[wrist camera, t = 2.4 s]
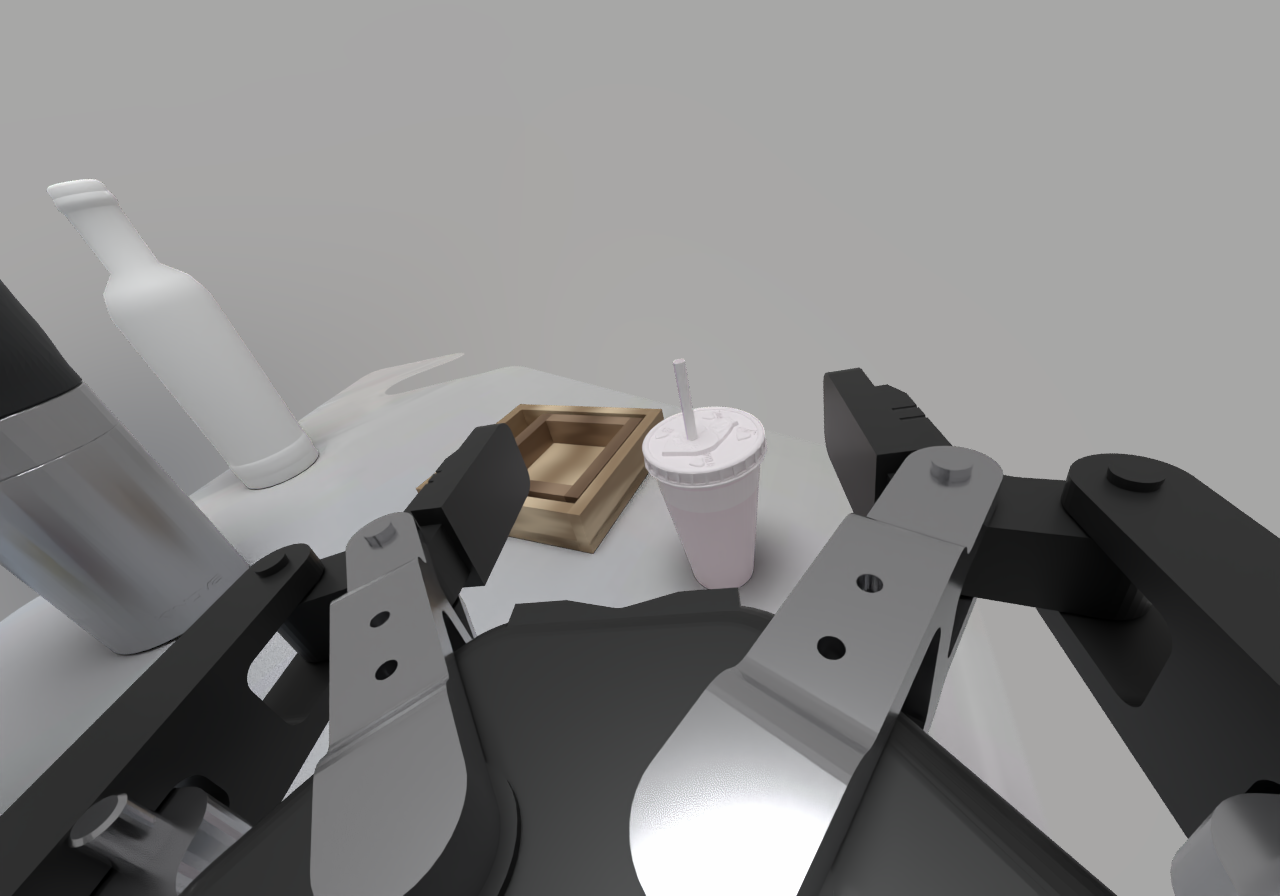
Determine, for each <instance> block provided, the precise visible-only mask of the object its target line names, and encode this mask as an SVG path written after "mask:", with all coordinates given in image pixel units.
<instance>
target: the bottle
mask: <svg viewBox="0 0 1280 896" xmlns="http://www.w3.org/2000/svg"><path fill="white" fill-rule="evenodd" d="M47 193H48V194H49V195H50V196H51V198H52V199H53V200H54V204H55V207H56V208H57V209H58V211H60V212H61V213H63V214H64V215H65V216H66V217H67V219H68V220H69V221H70V223H71V224H72V225H73V226H74V228H75V229H76V230H77V231H78V233H79V234H80V235H81V237H82V238H83V239H84V241H85V242H86V243H87V244H88V246H89V247H90V248H91V250H92V251H93V252H94V254H95V255H96V256H97V258H98V259H99V260H100V261H101V263H102V264H103V265H104V267H105V268H106V269H107V271H108V272H109V273H110V277H109V280H108V282H107V285H106V288H105V291H104V294H103V297H104V300H105V304H106V307H107V310H108V312H109V315H110V318H111V320H112V322H113V323H114V324H115V325H116V326H117V328H118V329H119V330H120V331H121V333H122V334H123V335H124V336H125V338H126V339H127V340H128V341H129V343H130V344H131V345H132V346H133V347H134V349H135V350H136V351H137V352H138V354H140V356H141V357H142V359H143V360H144V361H145V362H146V363H147V365H148V366H149V367H150V368H151V370H152V371H153V372H154V373H155V375H156V376H157V377H158V378H159V380H160V381H161V382H162V383H163V384H164V386H165V387H166V388H167V389H168V391H169V392H170V393H171V394H172V395H173V397H174V398H175V399H176V401H177V402H178V403H179V404H180V405H181V407H182V408H183V409H184V410H185V412H186V413H187V414H188V415H189V417H190V418H191V419H192V420H193V421H194V423H195V424H196V425H197V426H198V428H199V429H200V430H201V431H202V432H203V434H204V435H205V436H206V438H207V439H208V440H209V441H210V443H211V444H212V445H213V446H214V447H215V449H216V450H217V451H218V452H219V454H220V455H221V456H222V457H223V458H224V460H225V461H226V462H227V463H228V466H229V468H230V469H231V470H232V472H233V473H234V474H235V475H236V476H237V477H238V478H240V480H241V481H242V482H243V483H244V484H245V486H246V487H248V488H250V489H262V488H266V487H271V486H274V485H276V484H279V483H282V482H284V481H286V480H288V479H290V478H292V477H294V476H296V475H298V474H300V473H301V472H303V471H304V470H306V469H307V468H308V467H310V466H311V465H312V464H313V463H314V462H315V460H316V459H317V457H318V451H317V449H316V448H315V446H314V445H313V442H312V440H311V439H310V437H309V436H308V434H307V433H306V432H305V431H304V430H303V429H302V427H301V426H300V424H299V423H298V421H297V420H296V418H295V417H294V415H293V414H292V412H291V411H290V409H289V408H288V406H287V405H286V404H285V402H284V401H283V399H282V398H281V396H280V395H279V393H278V392H277V390H276V389H275V387H274V386H273V384H272V383H271V381H270V380H269V379H268V377H267V376H266V374H265V373H264V371H263V370H262V368H261V367H260V365H259V364H258V362H257V361H256V359H255V358H254V356H253V355H252V353H251V352H250V350H249V349H248V347H247V346H246V345H245V343H244V342H243V340H242V339H241V337H240V336H239V334H238V333H237V331H236V330H235V328H234V327H233V325H232V324H231V322H230V321H229V320H228V318H227V316H226V315H225V313H224V312H223V310H222V309H221V308H220V306H219V305H218V303H217V302H216V300H215V299H214V297H213V296H212V294H211V293H210V292H209V291H208V290H207V289H206V288H205V287H204V286H202V285H201V284H200V283H199V282H198V281H197V280H195V279H194V278H193V277H191V276H190V275H189V274H188V273H185V272H183V271H180V270H177V269H175V268H172V267H170V266H167V265H164V264H162V263H159V261H158V260H157V258H156V257H155V256H154V254H153V253H152V252H151V250H150V249H149V247H148V246H147V244H146V243H145V242H144V240H143V239H142V237H141V236H140V235H139V233H138V232H137V230H136V229H135V228H134V226H133V225H132V224H131V222H130V221H129V219H128V218H127V217H126V215H125V213H124V212H123V211H122V209H121V208H120V206H119V204H118V200H117V199H116V197H115V196H114V195H113V194H112V193H110V192H109V191H108V190H107V188H106V187H105V185H104V184H103V182H100V181H98V180H95V179H84V180H75V181H68V182H63V183H58V184H54V185H51V186H49V187H48V189H47Z"/></svg>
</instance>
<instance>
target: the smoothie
mask: <svg viewBox="0 0 1280 896" xmlns="http://www.w3.org/2000/svg"><path fill="white" fill-rule="evenodd" d="M673 364H674V370H675V376H676V381H677V387H678V392H679V398H680V403H681V409H682V412H680V413H678V414H675V415H672V416H670V417H668V418H666V419H664V420H663V421H661V422H660V423H658V424H657V425H655V426H654V427H653V428H652V429H651V430H650V431H649V432H648V434H647V435H646V437H645V438H644V441H643V444H642V451H643V455H644V461H645V467H646V469H647V470H648V472H649V473H650V474H651V476H652V477H654V478H655V479H657V482H658V485H659V487H660V490H661V493H662V495H663V497H664V500H665V502H666V505H667V507H668V510H669V512H670V515H671V517H672V520H673V522H674V525H675V528H676V530H677V533H678V535H679V538H680V540H681V543H682V545H683V548H684V550H685V553H686V555H687V558H688V560H689V563H690V565H691V568H692V571H693V573H694V576H695V578H696V579H697V581H698V582H699V583H700V584H701V585H703V586H704V587H706V588H708V589H721V588H734V587H738V588H739V587H741V586H742V585H744V584H745V583H746V582H747V581H748V580H749V579H750V577H751V576H752V573H753V568H754V552H755V536H756V520H757V504H758V488H759V475H760V463H761V462H762V461H763V460H764V457H765V455H766V452H767V441H766V439H765V430H764V427H763V425H762V423H761V422H760V421H759V420H758V419H757V418H756V417H754V416H753V415H751V414H750V413H747V412H745V411H742V410H739V409H735V408H729V407H702V408H696V409H693V406H692V400H691V394H690V388H689V382H688V376H687V370H686V364H685V360H684V359H676V360H674V361H673Z"/></svg>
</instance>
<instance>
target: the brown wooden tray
mask: <svg viewBox="0 0 1280 896" xmlns="http://www.w3.org/2000/svg"><path fill="white" fill-rule="evenodd" d="M663 420H664V417H663V413H662V409H641V408H612V407H583V406H555V405H526V404H520V405H518V406H517V407H516V408H515V409H513V410H512V411H511V412H510V413H509V414H507V415H506V416H505V417H504V418H502V419H501V420H500V421H499V422H497V423H496V424H499V423H505V424H507V425H508V426H509V428H510V429H511V431H512V433H513V436H514V438H515V441H516V443H517V446H518V448H519V450H520V453H521V455H522V458H523V460H524V462H525V465H526V467H527V470H528V473H529V477H530V490H529V494H528V496H527V498H526V500H525V502H524V504H523V506H522V509H521V511H520V513H519V515H518V517H517V519H516V521H515V523H514V525H513V527H512V529H511V532H510V534H509V536H510V537H515V538H519V539H524V540H529V541H534V542H539V543H544V544H549V545H554V546H558V547H563V548H568V549H573V550H578V551H583V552H588V553H594V552H595V550H596V549H597V547H598V546H599V544H600V543H601V541H602V540H603V538H604V537H605V535H606V534H607V533H608V531H609V530H610V528H611V527H612V525H613V524H614V522H615V521H616V519H617V518H618V516H619V515H620V514H621V512H622V511H623V509H624V508H625V506H626V505H627V503H628V502H629V500H630V499H631V497H632V496H633V495H634V493H635V492H636V490H637V489H638V487H639V486H640V484H641V483H642V481H643V480H644V478H645V477H646V476H647V474H648V473H649V472H648V470H647V469H646V467H645V461H644V455H643V451H642V444H643V441H644V438H645V437H646V435H647V434H648V432H649V431H650V430H651V429H652V428H653V427H654V426H655V425H657V424H658V423H660V422H661V421H663ZM435 474H436V473H435ZM431 477H432V476H431ZM431 477H430V478H431ZM430 478H428V479H427V480H426V481H425V482H423V483H422V484H421V485H420V486H418V487H417V488H416V490H417V491H418V493H419V492H420V490H421V489H422V488H423V487H424V485H425V484H428V480H429V479H430Z"/></svg>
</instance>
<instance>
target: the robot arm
mask: <svg viewBox="0 0 1280 896" xmlns="http://www.w3.org/2000/svg"><path fill="white" fill-rule="evenodd" d="M823 382H824V383H823V384H824V386H823V388H824V433H825V442H826V448H827V452H828V455H829V458H830V460H831V462H832V465H833V467H834V469H835V471H836V474H837V476H838V478H839V481H840V483H841V485H842V487H843V490H844V492H845V494H846V496H847V499H848V501H849V503H850V505H851V508H852V510H853V512H854V513H851V514H849V515H848V516H847V517H846V518H845V519H844V520H843V521H842V523H841V524H840V525H839V527H838V528H837V530H836V531H835V532H834V534H833V535H832V537H831V538H830V539H829V541H828V542H827V544H826V545H825V546H824V548H823V549H822V550H821V552H820V553H819V555H818V556H817V557H816V559H815V560H814V562H813V563H812V564H811V566H810V567H809V568H808V570H807V571H806V573H805V574H804V575H803V577H802V578H801V580H800V581H799V582H798V584H797V585H796V587H795V588H794V589H793V591H792V592H791V593H790V595H789V596H788V598H787V599H786V600H785V602H784V603H783V605H782V606H781V607H780V609H779V610H778V611H777V613H776V614H772V613H769V612H767V611H763V610H759V609H756V608H751V607H746V606H741V604H740V598H739V592H738V587H734V588H721V589H708V590H695V591H682V592H676V593H673V594H669V595H666V596H662V597H659V598H656V599H652V600H649V601H645V602H642V603H638V604H635V605H631V606H628V607H624V608H611V607H605V606H599V605H592V604H586V603H580V602H574V601H568V600H563V601H550V602H537V603H523V604H515V607H514V609H513V612H512V615H511V617H510V620H509V622H508V623H506V624H503V625H500V626H498V627H495V628H493V629H491V630H489V631H487V632H485V633H483V634H481V635H479V636H477V635H476V632H475V629H474V627H473V624H472V621H471V619H470V616H469V613H468V610H467V608H466V605H465V603H464V601H463V599H462V598H461V596H460V594H459V593H460V591H461V589H462V588H463V587H475V586H485V584H486V582H487V580H488V578H489V576H490V574H491V571H492V569H493V567H494V565H495V563H496V561H497V559H498V557H499V555H500V553H501V550H502V548H503V546H504V544H505V542H506V540H507V538H508V536H509V534H510V532H511V529H512V527H513V525H514V523H515V521H516V519H517V517H518V515H519V513H520V511H521V509H522V506H523V504H524V502H525V500H526V498H527V496H528V494H529V490H530V477H529V473H528V470H527V467H526V465H525V462H524V460H523V458H522V455H521V453H520V450H519V448H518V446H517V443H516V441H515V438H514V436H513V433H512V431H511V429H510V428H509V426H508V425H507V424H505V423H499V424H493V425H487V426H480V427H476V428H475V429H474V430H473V431H472V433H471V434H470V435H469V436H468V438H467V439H466V440H465V442H464V443H463V444H462V445H461V447H460V448H459V449H458V450H457V451H456V452H454V453H453V454H452V455H450V456H449V457H448V458H446V459H445V460H444V462H443V463H442V464H441V465H440V467H439V468H438V469H437V470H436V474H433V475H432V477H431V478H430V479H429V480H428V484H425V485H424V487H423V488H422V489H421V490H420V492H419V493H418V494H417V495H416V497H415V498H414V499H413V501H412V502H411V503H410V504H409V506H408V507H407V508H406V509H405V511H404V512H397V513H392V514H388V515H385V516H382V517H380V518H378V519H376V520H374V521H372V522H370V523H369V524H367V525H366V526H364V527H363V528H361V529H360V530H359V531H358V532H357V533H356V534H354V535H353V537H352V538H351V539H350V540H349V542H348V544H347V546H346V551H345V552H342V553H338V554H335V555H332V556H329V557H326V558H323V559H319V558H318V557H317V556H316V554H315V553H314V552H313V550H312V549H311V548H310V547H309V546H308V545H307V544H301V543H300V544H293V545H289V546H286V547H283V548H281V549H278V550H276V551H274V552H272V553H270V554H269V555H267V556H265V557H264V558H262V559H260V560H259V561H258V562H256V563H255V564H254V565H252V566H251V567H250V568H249V564H248V563H247V562H246V561H245V560H244V558H243V557H242V556H241V555H240V554H239V553H238V552H237V551H236V549H235V548H234V547H233V546H232V545H231V544H230V543H229V542H228V540H227V539H226V538H225V537H224V536H223V535H222V534H221V533H220V531H219V530H218V529H217V528H216V527H215V525H214V524H213V523H212V522H211V521H210V520H209V519H208V518H207V517H206V516H205V514H204V513H203V512H202V511H201V510H200V509H199V508H198V507H197V506H196V504H195V503H194V502H193V501H192V500H191V499H190V498H189V497H188V496H187V495H186V493H185V492H184V491H183V490H182V489H181V488H180V487H179V486H178V485H177V483H176V482H175V481H174V480H173V479H172V478H171V477H170V476H169V475H168V473H167V472H166V471H165V470H164V469H163V468H162V467H161V466H160V465H159V463H157V462H156V460H155V459H154V458H153V457H152V456H151V455H150V454H149V452H148V451H147V450H146V449H145V448H144V447H143V446H142V445H141V444H140V443H139V441H138V440H137V439H136V438H135V437H134V436H133V435H132V434H131V432H130V431H129V430H128V429H127V428H126V427H125V426H124V425H123V424H122V423H121V422H120V421H119V420H118V419H117V417H116V416H115V415H114V414H113V413H112V412H111V411H110V410H109V409H108V407H106V405H105V404H104V403H103V402H102V401H101V400H100V399H99V398H98V397H97V396H96V394H95V393H94V392H93V391H92V390H91V389H90V388H89V386H88V385H87V384H86V383H85V382H82V379H81V378H80V377H79V375H78V374H77V373H76V372H75V371H74V370H73V369H72V368H71V367H70V366H69V365H68V363H67V362H66V361H65V360H64V358H63V357H62V355H61V354H60V353H59V351H58V350H57V349H56V347H55V346H54V344H53V343H52V341H51V340H50V339H49V337H48V336H47V334H46V333H45V332H44V331H43V329H42V328H41V327H40V326H39V324H38V323H37V322H36V321H35V320H34V319H33V318H32V316H31V315H30V314H29V313H28V312H27V311H26V309H25V308H24V307H23V306H22V305H21V304H20V303H19V301H18V300H17V299H16V298H15V297H14V296H13V294H12V293H11V292H10V291H9V290H8V288H7V287H6V286H5V285H4V284H3V282H2V281H1V280H0V565H2V566H3V567H4V568H6V569H7V570H8V571H9V572H11V573H12V574H13V575H15V576H16V577H17V578H19V579H20V580H21V581H22V582H24V583H25V584H27V585H28V586H29V587H30V588H32V589H33V590H34V591H35V592H37V593H38V594H39V595H41V596H42V597H43V598H44V599H46V600H47V601H48V602H50V603H51V604H52V605H53V606H55V607H56V608H57V609H59V610H60V611H61V612H63V613H64V614H65V615H66V616H67V617H68V618H70V619H71V620H72V621H74V622H75V623H76V624H78V625H79V626H80V627H82V628H83V629H84V630H86V631H87V632H88V633H90V634H91V635H92V636H93V637H95V638H96V639H97V640H99V641H100V642H101V643H103V644H104V645H105V646H107V647H108V648H109V649H111V650H112V651H113V652H115V653H117V654H132V653H137V652H141V651H145V650H148V649H151V648H153V647H156V646H158V645H161V644H163V643H165V642H167V641H169V640H171V639H173V638H175V637H177V636H179V635H181V634H182V635H181V636H180V637H179V638H178V639H177V640H176V641H175V642H174V643H173V644H172V645H171V646H170V647H169V648H168V649H167V650H166V651H165V652H164V653H163V654H162V655H161V656H160V657H159V658H158V659H157V660H156V661H155V662H154V663H153V664H152V665H151V666H150V667H149V668H148V669H147V670H146V671H145V672H144V673H143V674H142V675H141V676H140V677H139V678H138V679H137V680H136V681H135V682H134V683H133V684H132V685H131V686H130V687H129V688H128V689H127V690H126V691H125V692H124V693H123V694H122V695H121V696H120V697H119V698H118V699H117V700H116V701H115V702H114V703H113V704H112V705H111V706H110V707H109V708H108V709H107V710H106V711H105V712H104V713H103V714H102V715H101V716H100V717H99V718H98V719H97V720H96V721H95V722H94V723H93V724H92V725H91V726H90V727H89V728H88V729H87V730H86V731H85V732H84V733H83V734H82V735H81V736H80V737H79V738H78V739H77V740H76V741H75V742H74V743H73V744H72V745H71V746H70V747H69V748H68V749H67V750H66V751H65V752H64V753H63V754H62V755H61V756H60V757H59V758H58V759H57V760H56V761H55V762H54V763H53V764H52V765H51V766H50V767H49V768H48V769H47V770H46V771H45V772H44V773H43V774H42V775H41V776H40V777H39V778H38V779H37V780H36V781H35V782H34V783H33V784H32V785H31V786H30V787H29V788H28V789H27V790H26V791H25V792H24V793H23V794H22V795H21V796H20V797H19V798H18V799H17V800H16V801H15V802H14V803H13V804H12V805H11V806H10V807H9V808H8V809H7V810H6V811H5V812H4V813H3V814H2V815H1V816H0V896H1117V895H1116V894H1115V893H1113V892H1112V891H1111V890H1110V889H1109V888H1107V887H1106V886H1105V885H1104V884H1103V883H1102V882H1100V881H1099V880H1098V879H1097V878H1096V877H1095V876H1093V875H1092V874H1091V873H1090V872H1089V871H1088V870H1086V869H1085V868H1084V867H1083V866H1082V865H1080V864H1079V863H1078V862H1077V861H1076V860H1075V859H1074V858H1072V857H1071V856H1070V855H1069V854H1068V853H1066V852H1065V851H1064V850H1063V849H1062V848H1061V847H1059V846H1058V845H1057V844H1056V843H1055V842H1054V841H1052V840H1051V839H1050V838H1049V837H1048V836H1047V835H1045V834H1044V833H1043V832H1042V831H1041V830H1040V829H1038V828H1037V827H1036V826H1035V825H1034V824H1033V823H1031V822H1030V821H1029V820H1028V819H1027V818H1025V817H1024V816H1023V815H1022V814H1021V813H1020V812H1018V811H1017V810H1016V809H1015V808H1014V807H1013V806H1011V805H1010V804H1009V803H1008V802H1007V801H1006V800H1004V799H1003V798H1002V797H1001V796H1000V795H999V794H997V793H996V792H995V791H994V790H993V789H991V788H990V787H989V786H988V785H987V784H986V783H984V782H983V781H982V780H981V779H980V778H979V777H977V776H976V775H975V774H974V773H973V772H972V771H970V770H969V769H968V768H967V767H966V766H965V765H963V764H962V763H961V762H960V761H959V760H957V759H956V758H955V757H954V756H953V755H952V754H950V753H949V752H948V751H947V750H946V749H945V748H943V747H942V746H941V745H940V744H939V743H938V742H936V741H935V740H934V739H933V738H932V737H931V736H929V735H928V732H929V729H930V727H931V724H932V721H933V718H934V715H935V712H936V709H937V706H938V702H939V699H940V695H941V692H942V688H943V685H944V682H945V679H946V676H947V673H948V670H949V668H950V665H951V663H952V660H953V658H954V655H955V653H956V650H957V648H958V645H959V642H960V640H961V637H962V635H963V632H964V630H965V627H966V625H967V622H968V620H969V617H970V615H971V612H972V609H973V607H974V604H975V602H976V599H977V598H983V599H989V600H995V601H1001V602H1007V603H1013V604H1019V605H1024V606H1030V607H1036V609H1037V610H1038V612H1039V614H1040V615H1041V617H1042V618H1043V620H1044V621H1045V623H1046V624H1047V626H1048V627H1049V629H1050V630H1051V632H1052V633H1053V635H1054V636H1055V638H1056V639H1057V641H1058V642H1059V644H1060V646H1061V647H1062V648H1063V650H1064V651H1065V653H1066V655H1067V656H1068V658H1069V659H1070V661H1071V662H1072V664H1073V665H1074V667H1075V668H1076V670H1077V671H1078V673H1079V674H1080V676H1081V677H1082V679H1083V680H1084V682H1085V683H1086V685H1087V686H1088V688H1089V689H1090V691H1091V692H1092V694H1093V696H1094V697H1095V698H1096V700H1097V702H1098V703H1099V705H1100V706H1101V708H1102V709H1103V711H1104V712H1105V714H1106V715H1107V717H1108V718H1109V720H1110V721H1111V723H1112V724H1113V726H1114V727H1115V729H1116V730H1117V732H1118V733H1119V735H1120V736H1121V738H1122V739H1123V741H1124V743H1125V744H1126V746H1127V747H1128V749H1129V750H1130V752H1131V753H1132V755H1133V756H1134V758H1135V759H1136V761H1137V762H1138V764H1139V765H1140V767H1141V768H1142V770H1143V771H1144V773H1145V774H1146V776H1147V777H1148V779H1149V780H1150V782H1151V783H1152V785H1153V786H1154V788H1155V789H1156V791H1157V792H1158V794H1159V796H1160V797H1161V799H1162V800H1163V802H1164V803H1165V805H1166V806H1167V808H1168V809H1169V811H1170V812H1171V814H1172V815H1173V816H1174V818H1175V820H1176V821H1177V823H1178V824H1179V826H1180V827H1181V829H1182V830H1183V832H1184V833H1185V835H1186V836H1187V838H1188V840H1187V841H1186V842H1185V843H1184V844H1183V846H1182V847H1181V848H1180V849H1179V850H1178V851H1177V852H1176V854H1175V856H1174V858H1173V860H1172V866H1171V882H1172V887H1173V890H1174V893H1175V896H1280V538H1278V537H1277V536H1275V535H1274V534H1273V533H1271V532H1270V531H1268V530H1267V529H1266V528H1264V527H1263V526H1262V525H1260V524H1259V523H1257V522H1256V521H1255V520H1253V519H1252V518H1251V517H1249V516H1248V515H1246V514H1245V513H1244V512H1242V511H1241V510H1239V509H1238V508H1236V507H1235V506H1234V505H1232V504H1231V503H1230V502H1228V501H1227V500H1226V499H1224V498H1223V497H1221V496H1220V495H1219V494H1217V493H1216V492H1214V491H1213V490H1212V489H1210V488H1209V487H1208V486H1206V485H1205V484H1203V483H1202V482H1201V481H1199V480H1198V479H1196V478H1195V477H1194V476H1192V475H1191V474H1189V473H1187V472H1186V471H1184V470H1182V469H1180V468H1178V467H1175V466H1173V465H1170V464H1168V463H1164V462H1161V461H1158V460H1155V459H1150V458H1147V457H1142V456H1136V455H1128V454H1097V455H1091V456H1087V457H1083V458H1081V459H1078V460H1077V461H1075V462H1074V463H1073V464H1072V465H1071V466H1070V469H1069V472H1068V476H1067V479H1066V481H1063V480H1049V479H1033V478H1021V477H1012V476H1006V475H1003V471H1002V469H1001V467H1000V466H999V464H998V463H997V462H996V461H994V460H993V459H992V458H990V457H988V456H986V455H985V454H983V453H980V452H977V451H975V450H971V449H967V448H962V447H956V446H952V445H951V444H950V443H949V442H948V441H947V439H946V438H945V437H944V436H943V435H942V434H941V432H940V431H939V430H938V429H937V428H936V427H935V426H934V425H933V423H932V422H931V421H930V420H929V419H928V418H926V417H925V414H924V413H923V412H922V411H921V410H920V408H919V407H918V408H917V406H916V404H915V403H914V402H913V400H912V399H911V398H910V397H909V396H908V395H907V394H906V393H905V392H902V391H900V390H898V389H896V388H894V387H892V386H889V385H882V386H874V385H873V384H872V382H871V381H870V380H869V378H868V377H867V376H866V375H865V373H864V372H863V371H862V369H860V368H854V369H848V370H841V371H835V372H828V373H825V375H824V381H823ZM276 632H278V633H279V634H280V635H281V636H282V637H283V638H284V639H285V640H286V641H287V642H288V643H289V644H290V645H291V646H292V647H293V649H294V650H295V651H296V652H297V654H296V656H295V657H294V658H293V660H292V661H291V663H290V664H289V665H288V667H287V668H286V669H285V671H284V672H283V674H282V675H281V676H280V678H279V679H278V680H277V682H276V683H275V684H274V686H273V687H272V689H271V690H270V691H269V693H268V694H267V695H266V697H265V698H264V700H263V701H262V700H261V699H260V698H259V697H258V696H257V695H255V694H254V693H253V692H252V691H251V690H250V688H249V686H248V683H247V674H248V670H249V667H250V665H251V663H252V662H253V660H254V659H255V658H256V657H257V655H258V654H259V653H260V652H261V650H262V649H263V648H264V647H265V645H266V644H267V643H268V642H269V640H270V639H271V638H272V637H273V635H274V634H275V633H276ZM328 721H329V748H328V752H327V754H326V755H325V756H324V757H323V758H322V759H320V761H319V762H318V764H317V766H316V769H315V773H314V774H313V775H312V776H311V777H310V778H309V779H307V780H306V781H305V782H304V783H303V784H302V785H301V786H299V787H298V788H297V789H296V790H295V791H294V792H292V793H291V794H290V795H289V796H288V797H287V798H286V799H284V800H283V798H284V796H285V794H286V793H287V791H288V789H289V788H290V786H291V784H292V783H293V781H294V779H295V777H296V776H297V774H298V772H299V771H300V769H301V767H302V765H303V764H304V762H305V760H306V759H307V757H308V755H309V754H310V752H311V750H312V748H313V747H314V745H315V743H316V742H317V740H318V738H319V737H320V735H321V733H322V731H323V730H324V728H325V726H326V725H327V723H328ZM282 800H283V801H282ZM281 801H282V802H281Z"/></svg>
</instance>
